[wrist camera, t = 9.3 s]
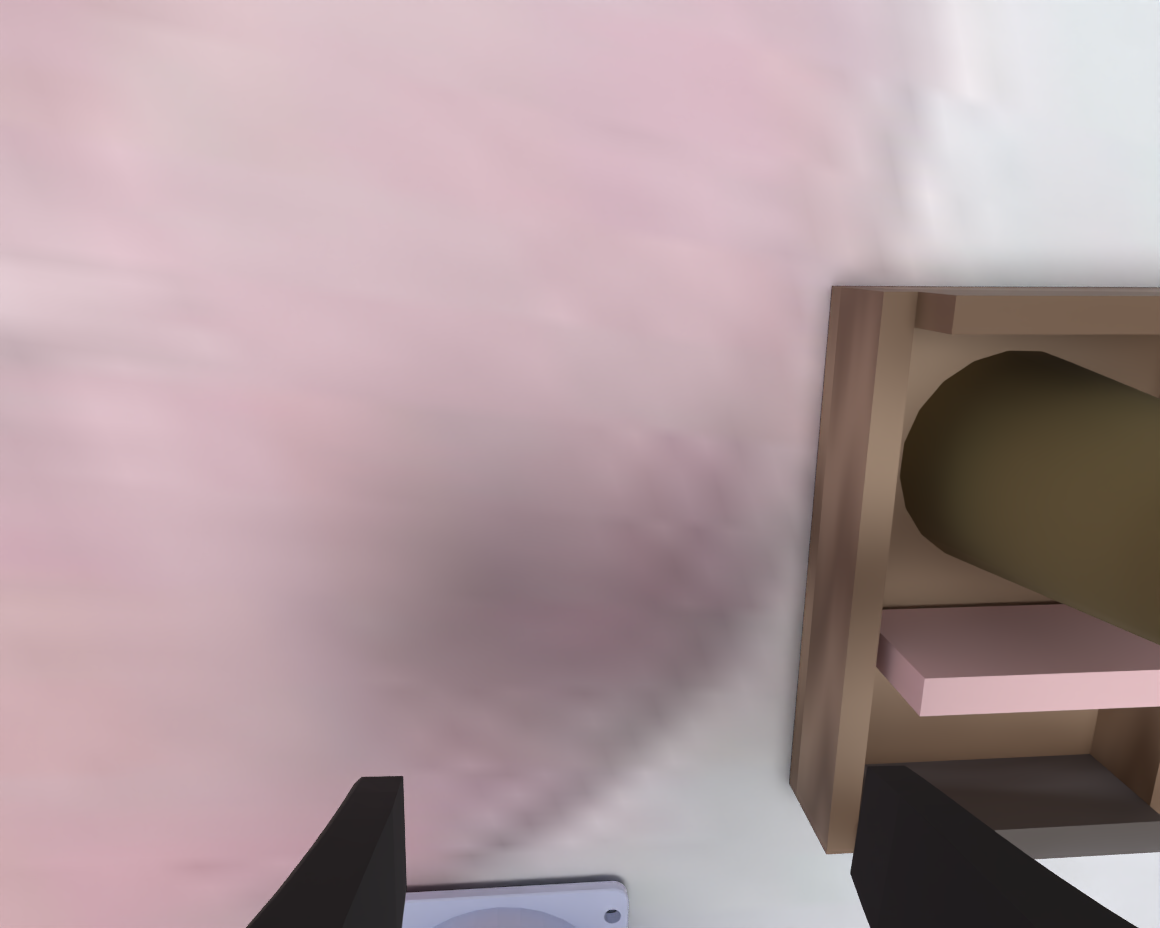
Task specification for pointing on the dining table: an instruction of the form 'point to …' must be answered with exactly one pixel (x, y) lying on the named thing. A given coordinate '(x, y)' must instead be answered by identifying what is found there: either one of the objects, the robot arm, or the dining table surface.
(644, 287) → the dining table surface
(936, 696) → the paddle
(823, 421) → the open box
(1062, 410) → the olive bulbous piece
